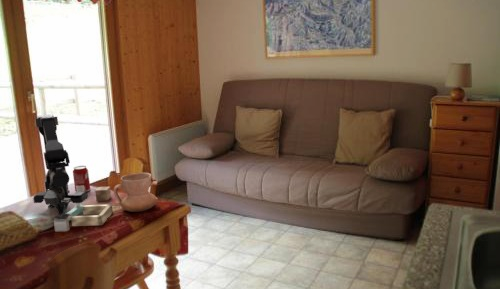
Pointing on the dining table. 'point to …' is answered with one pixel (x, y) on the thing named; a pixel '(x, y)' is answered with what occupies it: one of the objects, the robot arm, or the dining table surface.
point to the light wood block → (103, 193)
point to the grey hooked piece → (62, 222)
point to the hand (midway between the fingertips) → (62, 217)
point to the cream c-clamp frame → (91, 220)
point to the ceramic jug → (136, 192)
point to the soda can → (81, 179)
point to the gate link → (76, 210)
